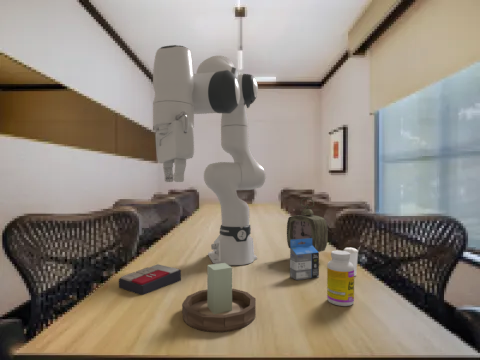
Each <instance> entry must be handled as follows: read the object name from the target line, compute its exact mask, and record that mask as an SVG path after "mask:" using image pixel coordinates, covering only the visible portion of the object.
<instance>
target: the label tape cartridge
mask: <svg viewBox="0 0 480 360" xmlns="http://www.w3.org/2000/svg"><path fill="white" fill-rule="evenodd" d="M301 241H302V242H305V244H298V243H300V242H301ZM289 249H290V250H289V255H290V256H289V278H290V279H291V278H292V279H293V280H295V281H301V280H308V279H315V278H319V276H320V262H319V261H320V252H318V251H317V250H316V249H315V248H314V247H313V245H312V238H306V239H293V240H290V248H289Z"/></svg>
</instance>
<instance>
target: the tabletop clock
mask: <svg viewBox="0 0 480 360" xmlns="http://www.w3.org/2000/svg"><path fill="white" fill-rule="evenodd" d="M304 200H309V201H311V202H312V205H311V206H309V204H306V205H303V204H302V202H303V201H304ZM299 204H300V206H301V207H302V208H304V209H302V210H301V212H300V215H291V216H289V217H288V219H287V223H286V241H287V246H288V248H289V249H290V240H293V239H306V238H312V245H313V247H314V248H315V249H316V250H317V251H318V252H319V253H320V252H324V251H326V248H327V244H328V235H329V234H328V232H329V231H328V223H327V220H326V219H325V218H324V217H322V216H319V215H314V211H313V210H312V208H314V206H315V201H314V199H313V198H311V197H303V198H301V200H300V203H299ZM298 244H305V242H302V241H301V242H300V243H298Z"/></svg>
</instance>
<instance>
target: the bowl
mask: <svg viewBox="0 0 480 360" xmlns="http://www.w3.org/2000/svg"><path fill="white" fill-rule="evenodd" d="M181 307H182V308H181V309H182V311H181V314H182V319H183V322H184V323H185V324H186V325H188V326H189V327H190V328H193V329H195V330H198V331H203V332H209V333H225V332H226V333H227V332H232V331H236V330H240V329H243V328H245V327H247V326H249V325H250V324H252V322H254V320H255V318H256V315H257V313H256V309H257V308H256V297H254V296H253V295H252V294H250V292H248V291H243V290H241V289H236V288H232V311H228V312H223V313H218V314H213V313H212V312H211V310H210V309H209V308H208V307H207V289H203V290H198V291H196V292H194V293H191V294H190V295H187V296H186V297H185V299H184V300H183V302H182V303H181Z"/></svg>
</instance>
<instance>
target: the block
mask: <svg viewBox="0 0 480 360" xmlns="http://www.w3.org/2000/svg"><path fill="white" fill-rule="evenodd" d="M206 268H207V276H206V277H207V281H206V282H207V287H206V288H207V289H206V290H207V307H208V308H209V309H210V310H211V312H212V313H213V314H218V313H223V312H228V311H232V289H233V267H232V266H231V265H227V264H226V263H220V264H214V263H212V264H207V267H206Z"/></svg>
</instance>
